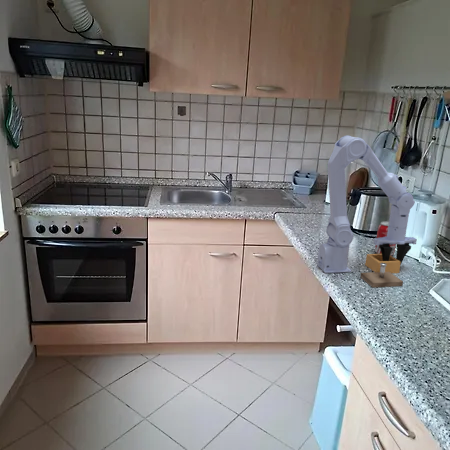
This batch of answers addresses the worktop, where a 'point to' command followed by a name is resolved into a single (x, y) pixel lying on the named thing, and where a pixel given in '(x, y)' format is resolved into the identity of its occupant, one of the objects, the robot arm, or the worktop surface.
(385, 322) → the worktop surface
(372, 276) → the board
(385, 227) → the soda can
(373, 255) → the orange open box
